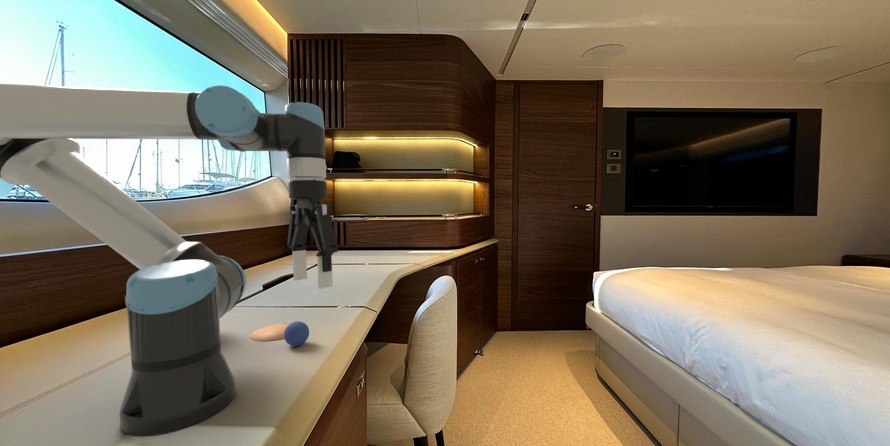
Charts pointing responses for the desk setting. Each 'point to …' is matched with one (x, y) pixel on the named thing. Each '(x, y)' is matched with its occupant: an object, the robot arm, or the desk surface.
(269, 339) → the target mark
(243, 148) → the robot arm
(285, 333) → the ball
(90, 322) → the desk surface
